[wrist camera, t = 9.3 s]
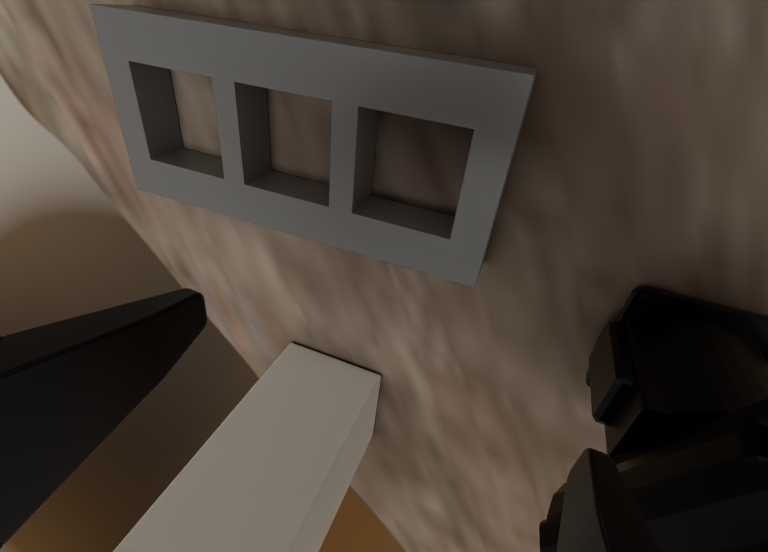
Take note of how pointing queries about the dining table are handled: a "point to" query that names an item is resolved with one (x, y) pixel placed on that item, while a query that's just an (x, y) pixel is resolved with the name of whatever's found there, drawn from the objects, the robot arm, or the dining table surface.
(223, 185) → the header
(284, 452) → the milk carton
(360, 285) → the dining table surface
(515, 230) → the dining table surface
